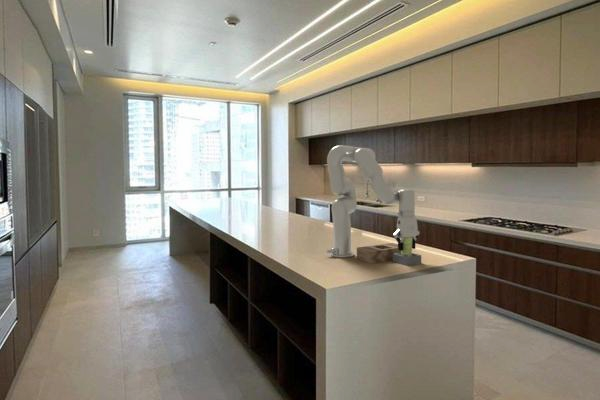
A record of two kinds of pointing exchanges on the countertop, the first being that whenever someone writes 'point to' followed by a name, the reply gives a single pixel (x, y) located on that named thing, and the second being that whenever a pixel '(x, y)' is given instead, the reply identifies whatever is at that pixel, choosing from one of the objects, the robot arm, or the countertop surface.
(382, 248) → the port block
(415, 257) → the frame
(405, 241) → the tube
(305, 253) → the countertop surface
